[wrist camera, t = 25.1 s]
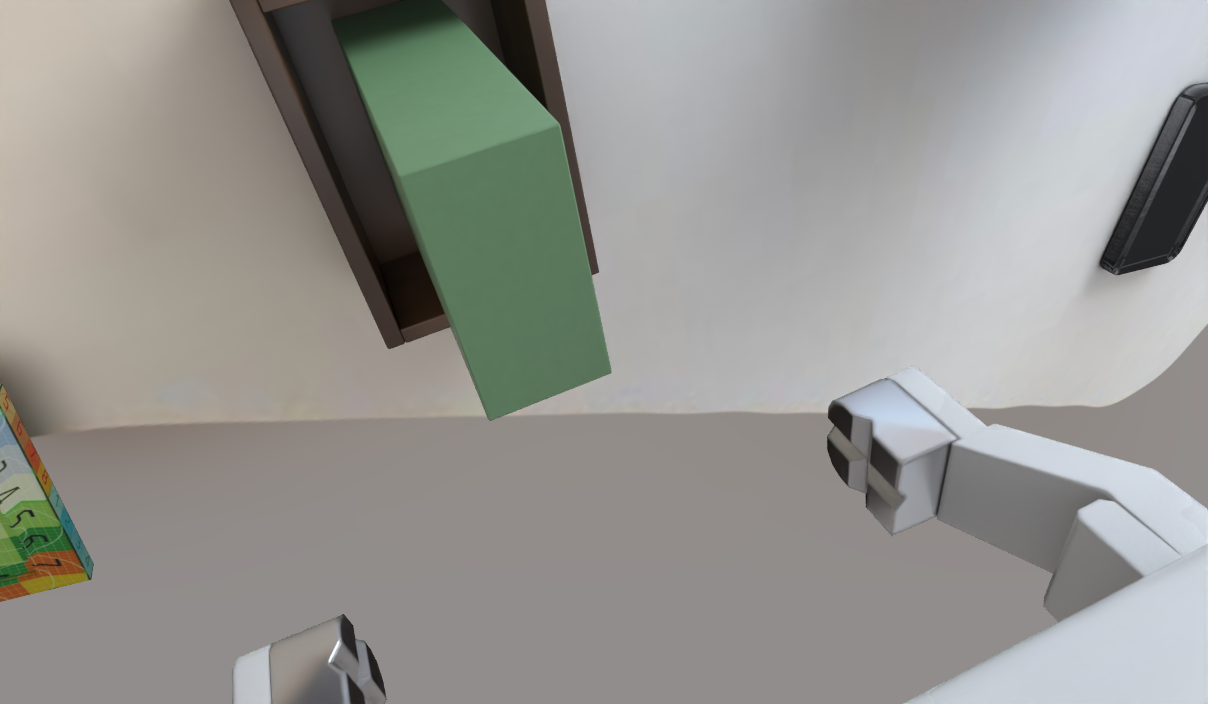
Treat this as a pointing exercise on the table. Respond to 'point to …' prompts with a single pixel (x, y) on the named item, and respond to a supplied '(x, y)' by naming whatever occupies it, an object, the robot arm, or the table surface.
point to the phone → (1166, 191)
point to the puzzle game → (33, 519)
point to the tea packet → (481, 200)
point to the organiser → (350, 151)
